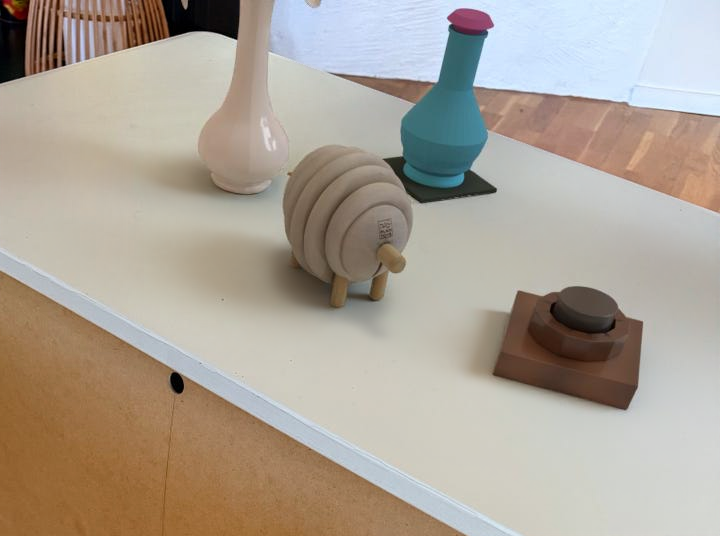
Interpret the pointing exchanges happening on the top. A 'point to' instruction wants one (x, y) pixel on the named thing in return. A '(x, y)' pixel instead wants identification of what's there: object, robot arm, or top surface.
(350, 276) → the toy sheep
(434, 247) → the top surface
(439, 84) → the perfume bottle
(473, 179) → the coaster
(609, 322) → the button
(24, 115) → the top surface
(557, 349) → the button block
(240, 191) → the flower vase
